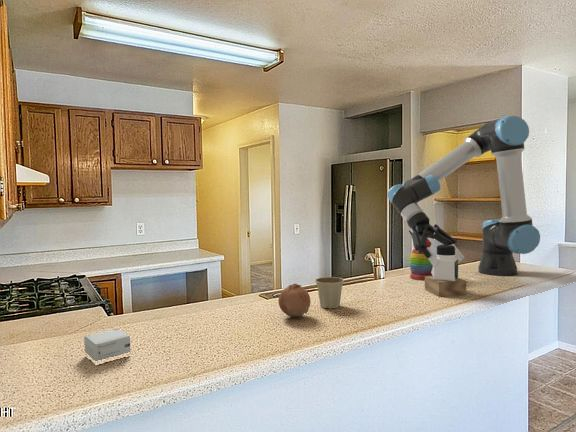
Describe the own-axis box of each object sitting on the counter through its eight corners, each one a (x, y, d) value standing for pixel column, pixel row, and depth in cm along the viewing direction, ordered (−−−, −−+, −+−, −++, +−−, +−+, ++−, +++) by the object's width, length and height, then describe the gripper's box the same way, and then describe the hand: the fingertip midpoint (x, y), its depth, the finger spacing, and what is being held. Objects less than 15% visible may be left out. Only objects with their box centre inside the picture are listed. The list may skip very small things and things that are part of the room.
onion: (294, 311, 126) (294, 279, 126) (317, 316, 120) (316, 283, 119) (272, 318, 120) (271, 284, 119) (295, 324, 113) (294, 289, 112)
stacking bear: (438, 280, 165) (438, 236, 164) (413, 280, 165) (413, 237, 164) (430, 275, 175) (429, 234, 174) (406, 275, 176) (406, 234, 175)
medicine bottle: (455, 281, 139) (454, 246, 138) (433, 279, 143) (433, 245, 142) (458, 277, 145) (458, 244, 145) (437, 276, 149) (437, 243, 148)
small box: (95, 367, 88) (94, 344, 88) (84, 357, 94) (83, 335, 94) (131, 357, 93) (130, 335, 93) (118, 348, 99) (117, 327, 99)
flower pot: (350, 305, 131) (350, 279, 130) (333, 312, 124) (332, 284, 123) (327, 301, 137) (327, 275, 137) (309, 307, 130) (308, 280, 130)
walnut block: (450, 288, 150) (450, 275, 150) (465, 294, 141) (465, 280, 140) (424, 290, 149) (424, 276, 149) (438, 296, 139) (438, 282, 139)
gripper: (431, 222, 163) (465, 264, 151) (386, 226, 150) (419, 272, 138) (442, 209, 159) (478, 252, 147) (397, 212, 145) (432, 259, 134)
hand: (449, 262), depth 142 cm, fingers open, 13 cm apart
